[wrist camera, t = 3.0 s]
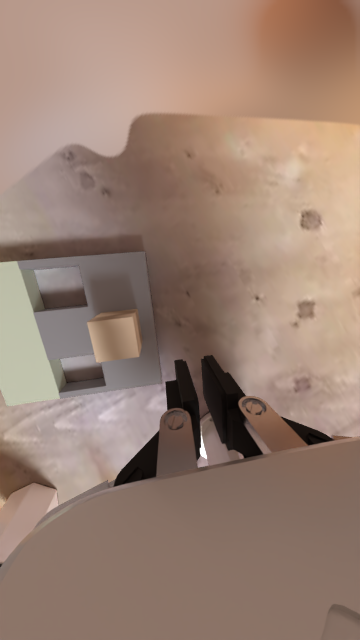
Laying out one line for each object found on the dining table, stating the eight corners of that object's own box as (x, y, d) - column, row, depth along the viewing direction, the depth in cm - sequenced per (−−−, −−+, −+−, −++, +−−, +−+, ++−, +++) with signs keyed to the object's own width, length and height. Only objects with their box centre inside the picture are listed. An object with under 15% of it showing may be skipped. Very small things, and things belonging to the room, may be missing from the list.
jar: (60, 513, 35) (14, 628, 24) (15, 517, 34) (-56, 639, 23) (57, 480, 33) (4, 589, 22) (9, 483, 32) (-74, 600, 21)
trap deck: (145, 253, 25) (144, 251, 23) (161, 374, 30) (161, 383, 28) (-30, 267, 23) (-52, 266, 20) (19, 395, 28) (6, 406, 26)
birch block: (137, 308, 25) (132, 317, 20) (142, 341, 26) (139, 356, 21) (101, 312, 24) (86, 322, 19) (108, 346, 25) (96, 362, 21)
